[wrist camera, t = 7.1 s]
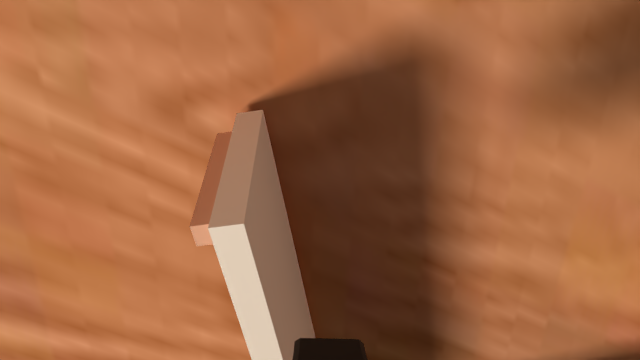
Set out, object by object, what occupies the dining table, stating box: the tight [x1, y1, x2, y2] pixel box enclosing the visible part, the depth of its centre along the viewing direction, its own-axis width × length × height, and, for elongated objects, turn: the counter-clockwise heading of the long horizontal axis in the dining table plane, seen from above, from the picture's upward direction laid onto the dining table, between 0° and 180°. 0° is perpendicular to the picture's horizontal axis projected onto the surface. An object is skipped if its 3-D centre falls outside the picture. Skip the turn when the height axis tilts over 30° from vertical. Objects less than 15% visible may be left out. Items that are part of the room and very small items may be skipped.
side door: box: [190, 110, 315, 360], centre depth 19 cm, size 15×1×6 cm, turn 9°
